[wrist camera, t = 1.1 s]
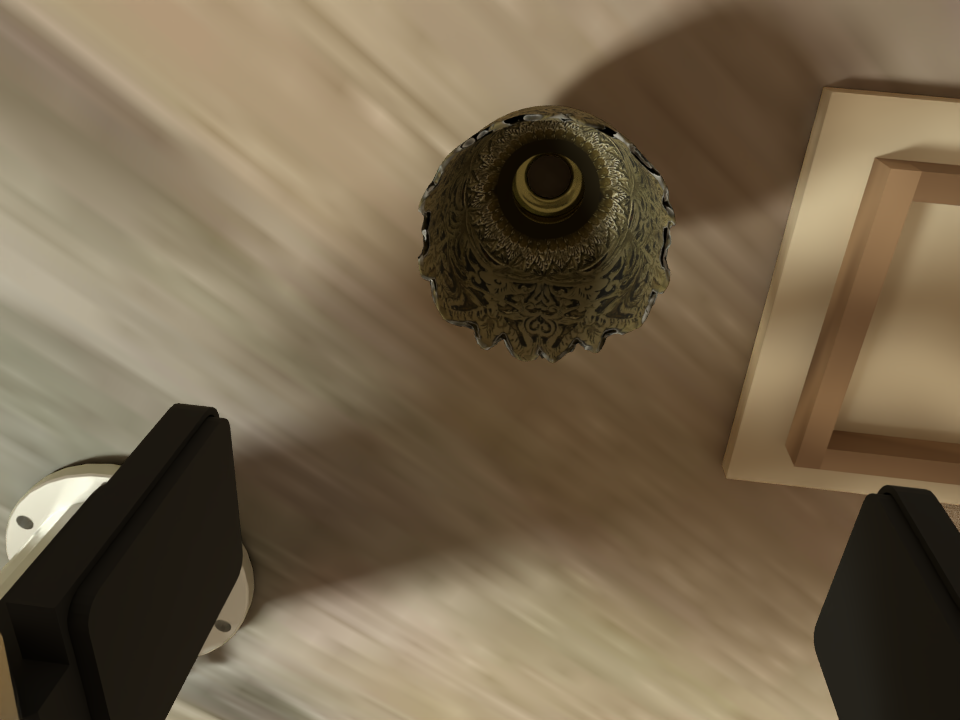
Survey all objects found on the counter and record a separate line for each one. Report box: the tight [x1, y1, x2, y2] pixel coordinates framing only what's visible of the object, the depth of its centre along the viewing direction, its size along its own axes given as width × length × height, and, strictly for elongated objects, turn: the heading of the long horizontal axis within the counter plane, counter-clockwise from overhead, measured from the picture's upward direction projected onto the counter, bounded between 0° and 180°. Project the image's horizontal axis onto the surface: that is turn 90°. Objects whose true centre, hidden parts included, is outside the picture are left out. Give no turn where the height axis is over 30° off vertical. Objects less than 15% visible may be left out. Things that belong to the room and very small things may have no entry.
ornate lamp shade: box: [418, 106, 676, 363], centre depth 26 cm, size 8×7×8 cm
